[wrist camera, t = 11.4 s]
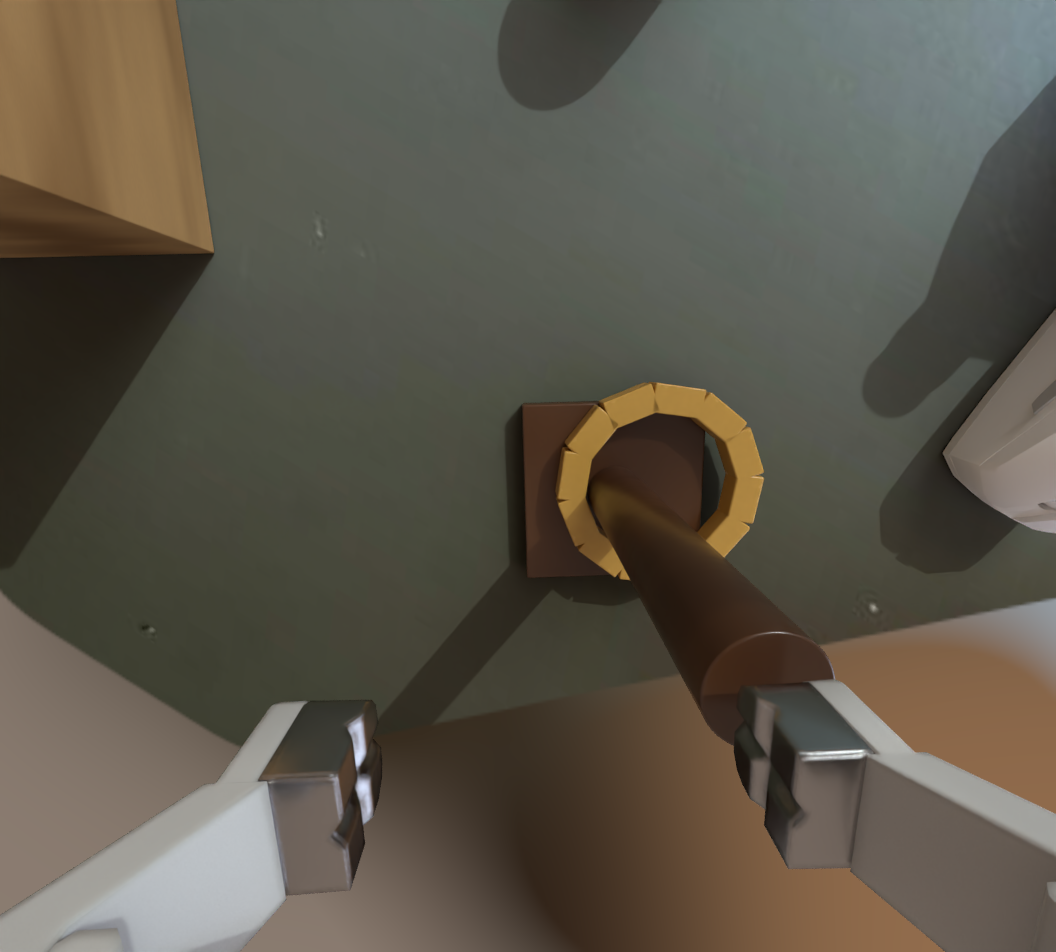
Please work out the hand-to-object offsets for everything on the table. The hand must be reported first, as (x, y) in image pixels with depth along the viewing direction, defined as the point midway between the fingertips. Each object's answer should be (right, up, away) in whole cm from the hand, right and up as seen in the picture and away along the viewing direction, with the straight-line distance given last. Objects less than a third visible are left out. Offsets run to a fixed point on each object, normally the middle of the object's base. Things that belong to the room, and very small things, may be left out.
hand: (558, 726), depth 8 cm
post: (+3, +4, +15) cm, 16 cm away
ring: (+5, +4, +14) cm, 16 cm away
